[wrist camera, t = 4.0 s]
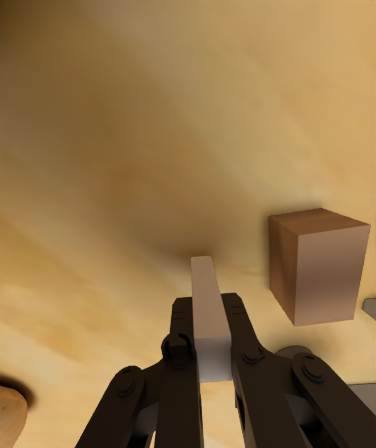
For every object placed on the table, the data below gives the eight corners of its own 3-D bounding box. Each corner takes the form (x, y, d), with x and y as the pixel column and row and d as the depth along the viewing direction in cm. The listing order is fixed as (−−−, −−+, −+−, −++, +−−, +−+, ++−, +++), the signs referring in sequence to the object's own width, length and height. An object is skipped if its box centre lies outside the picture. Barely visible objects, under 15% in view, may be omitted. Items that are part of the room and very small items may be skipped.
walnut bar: (268, 215, 14) (298, 235, 10) (320, 207, 14) (370, 224, 10) (269, 288, 16) (294, 326, 12) (314, 282, 16) (353, 319, 12)
